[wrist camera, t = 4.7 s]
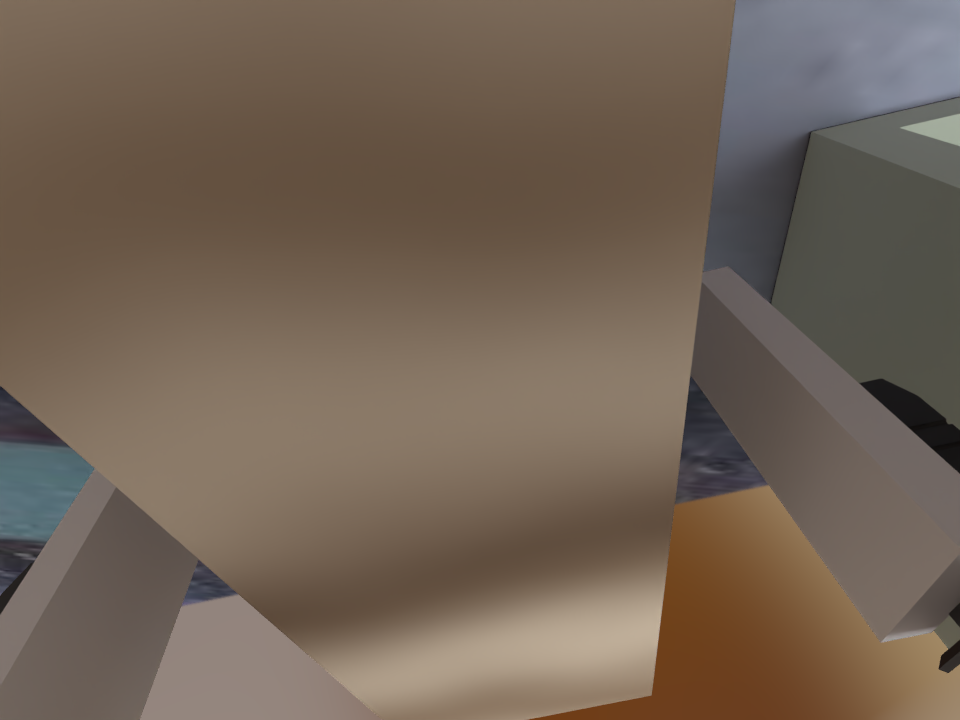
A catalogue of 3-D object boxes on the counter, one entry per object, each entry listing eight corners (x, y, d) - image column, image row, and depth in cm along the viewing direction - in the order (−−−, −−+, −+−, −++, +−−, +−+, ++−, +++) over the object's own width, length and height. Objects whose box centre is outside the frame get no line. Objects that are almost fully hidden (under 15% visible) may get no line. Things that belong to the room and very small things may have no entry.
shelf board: (-176, -127, 4) (-693, -223, 2) (614, -341, 4) (814, -651, 2) (408, 647, 15) (408, 742, 14) (620, 604, 15) (651, 695, 13)
